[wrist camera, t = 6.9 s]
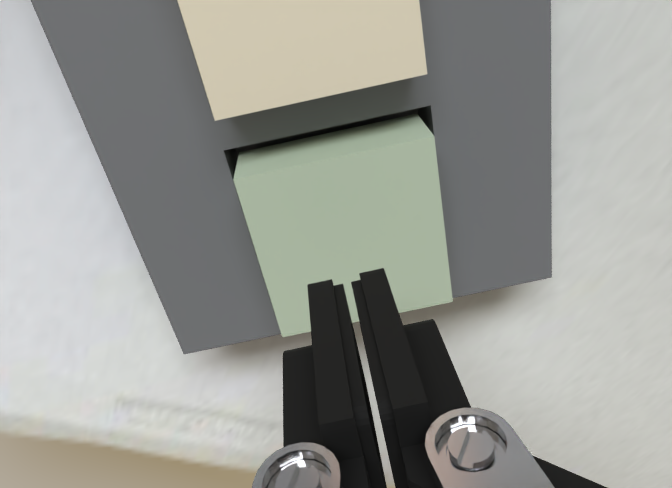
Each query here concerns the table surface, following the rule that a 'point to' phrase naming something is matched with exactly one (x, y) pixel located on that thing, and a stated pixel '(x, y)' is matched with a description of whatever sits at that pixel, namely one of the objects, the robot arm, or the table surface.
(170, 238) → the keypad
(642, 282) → the table surface
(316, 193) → the sage key
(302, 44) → the sand key
